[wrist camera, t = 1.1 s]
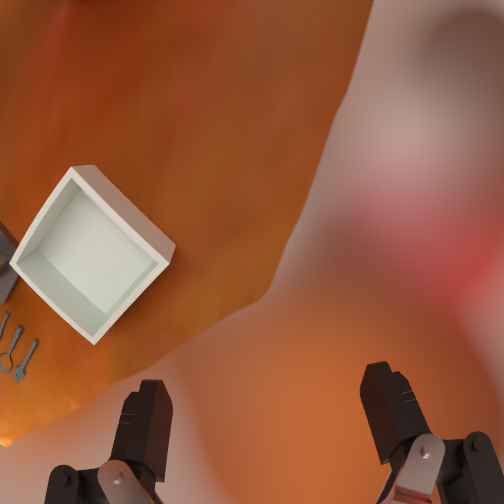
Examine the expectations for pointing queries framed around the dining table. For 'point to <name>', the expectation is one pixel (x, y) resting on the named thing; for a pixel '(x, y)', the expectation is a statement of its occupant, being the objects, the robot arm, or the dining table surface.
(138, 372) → the dining table surface
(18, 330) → the cutlery set
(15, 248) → the stud plate
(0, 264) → the strut
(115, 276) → the bin
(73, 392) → the dining table surface
